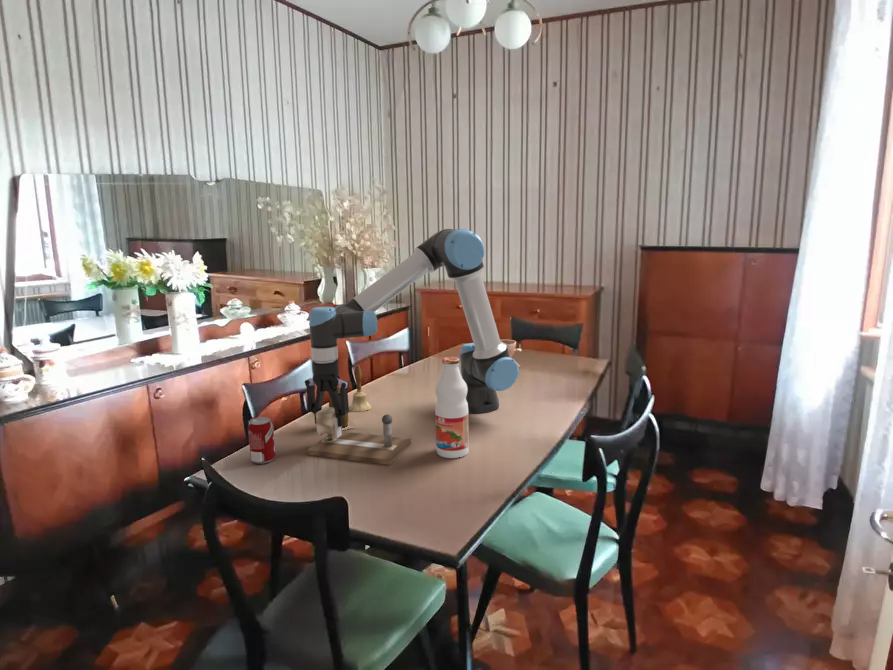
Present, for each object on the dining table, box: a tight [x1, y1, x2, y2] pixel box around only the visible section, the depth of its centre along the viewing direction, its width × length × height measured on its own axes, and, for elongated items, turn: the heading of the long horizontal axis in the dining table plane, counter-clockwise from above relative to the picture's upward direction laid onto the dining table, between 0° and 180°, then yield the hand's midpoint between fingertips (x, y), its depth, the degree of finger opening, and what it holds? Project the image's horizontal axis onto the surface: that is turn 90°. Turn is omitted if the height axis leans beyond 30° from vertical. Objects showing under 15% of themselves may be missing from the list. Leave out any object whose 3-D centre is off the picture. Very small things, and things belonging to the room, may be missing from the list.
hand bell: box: [349, 364, 373, 413], centre depth 209 cm, size 8×8×16 cm
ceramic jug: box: [500, 339, 522, 370], centre depth 251 cm, size 18×14×14 cm
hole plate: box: [306, 414, 412, 466], centre depth 173 cm, size 26×16×12 cm, turn 72°
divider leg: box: [315, 406, 342, 439], centre depth 176 cm, size 5×6×9 cm
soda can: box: [247, 416, 277, 465], centre depth 166 cm, size 7×7×12 cm
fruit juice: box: [434, 356, 470, 459], centre depth 167 cm, size 9×9×28 cm
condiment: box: [328, 388, 351, 432], centre depth 191 cm, size 7×8×12 cm
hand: (329, 435), depth 176 cm, fingers closed on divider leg, 5 cm apart
